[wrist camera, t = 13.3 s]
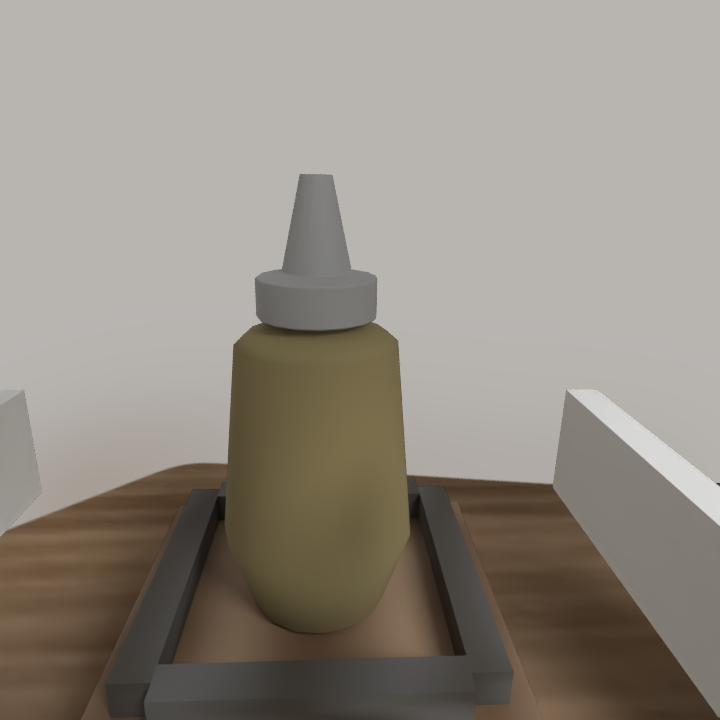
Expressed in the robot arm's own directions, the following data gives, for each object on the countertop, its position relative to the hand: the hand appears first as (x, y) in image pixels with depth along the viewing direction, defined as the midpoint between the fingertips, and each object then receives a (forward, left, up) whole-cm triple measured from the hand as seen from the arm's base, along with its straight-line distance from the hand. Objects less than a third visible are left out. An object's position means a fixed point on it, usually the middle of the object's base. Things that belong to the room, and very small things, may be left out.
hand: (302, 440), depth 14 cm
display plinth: (0, -9, -17) cm, 19 cm away
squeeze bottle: (0, -9, -12) cm, 15 cm away
